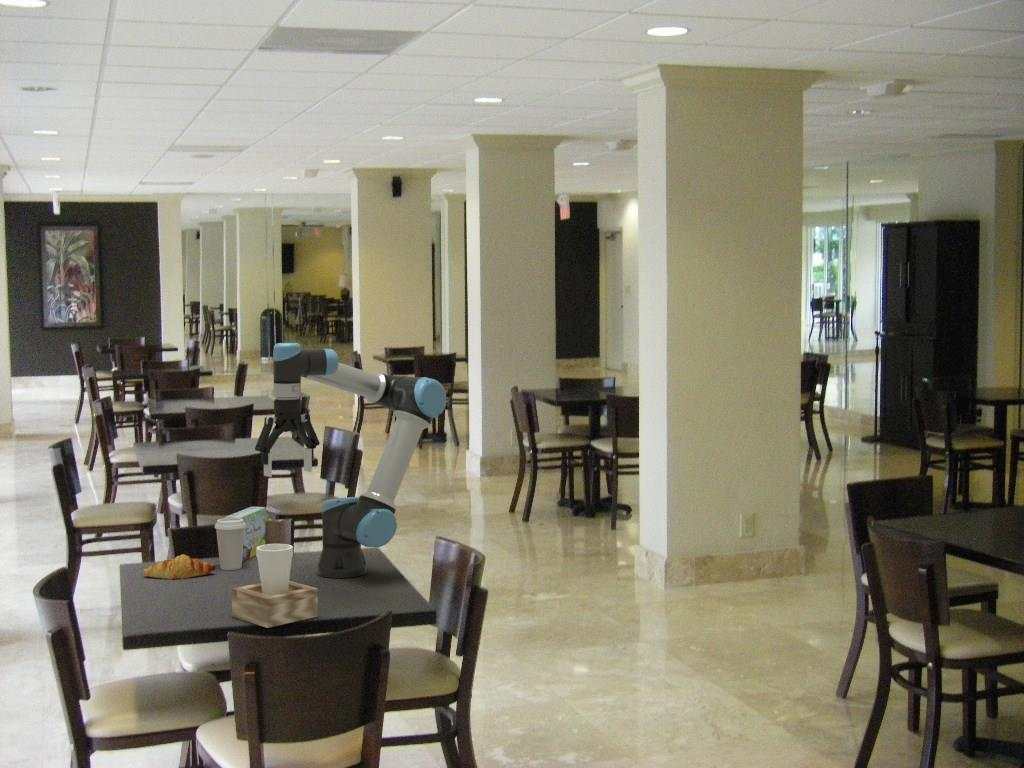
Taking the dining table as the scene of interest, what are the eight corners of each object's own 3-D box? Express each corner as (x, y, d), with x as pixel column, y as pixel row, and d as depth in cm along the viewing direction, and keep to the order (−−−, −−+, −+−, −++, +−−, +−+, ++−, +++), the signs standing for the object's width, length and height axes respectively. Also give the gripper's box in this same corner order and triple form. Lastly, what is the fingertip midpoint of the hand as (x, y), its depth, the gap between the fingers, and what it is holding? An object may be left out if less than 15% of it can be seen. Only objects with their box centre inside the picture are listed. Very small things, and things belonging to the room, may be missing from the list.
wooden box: (282, 605, 337) (282, 578, 337) (317, 616, 326) (317, 588, 326) (232, 616, 326) (231, 588, 325) (267, 628, 315) (266, 599, 314)
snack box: (240, 564, 388) (239, 517, 387) (223, 564, 389) (222, 516, 388) (266, 551, 409) (266, 506, 408) (250, 550, 410) (250, 505, 409)
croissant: (143, 591, 368) (141, 570, 364) (144, 569, 376) (142, 548, 372) (216, 586, 373) (215, 565, 368) (215, 564, 381) (214, 544, 377)
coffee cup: (250, 564, 388) (250, 517, 387) (240, 571, 378) (240, 523, 377) (221, 564, 389) (220, 517, 388) (210, 570, 379) (209, 522, 378)
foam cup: (258, 601, 320) (257, 551, 319) (255, 593, 329) (254, 544, 328) (295, 598, 323) (294, 549, 322) (291, 590, 331) (290, 542, 330)
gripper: (257, 401, 333) (258, 479, 334) (331, 396, 351) (332, 470, 352) (241, 400, 338) (242, 476, 340) (315, 394, 356) (316, 467, 358)
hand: (288, 473), depth 346 cm, fingers open, 13 cm apart
